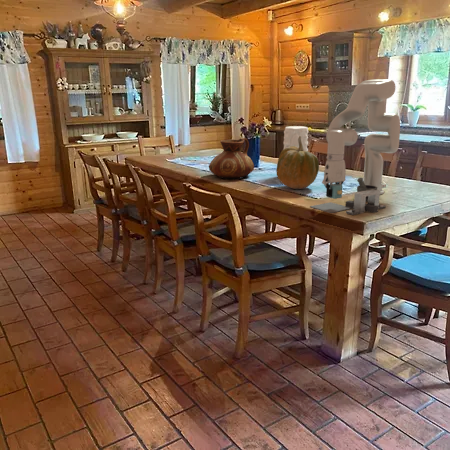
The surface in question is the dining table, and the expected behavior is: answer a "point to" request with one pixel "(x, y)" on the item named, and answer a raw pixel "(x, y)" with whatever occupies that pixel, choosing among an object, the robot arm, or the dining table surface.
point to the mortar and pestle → (364, 187)
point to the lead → (367, 206)
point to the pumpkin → (297, 167)
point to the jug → (232, 160)
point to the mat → (331, 207)
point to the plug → (336, 191)
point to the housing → (361, 199)
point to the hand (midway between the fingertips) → (333, 195)
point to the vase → (295, 136)
